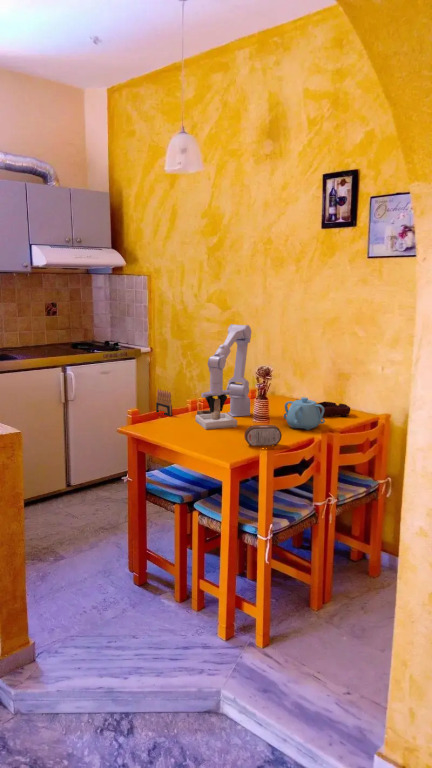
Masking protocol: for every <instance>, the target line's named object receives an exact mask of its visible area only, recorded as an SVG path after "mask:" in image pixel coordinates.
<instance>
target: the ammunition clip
mask: <svg viewBox="0 0 432 768" xmlns="http://www.w3.org/2000/svg"><path fill="white" fill-rule="evenodd" d="M171 396H172V394H171V391H168V390H162V389H159V388H158V389H157V393H156V403H155V412H159V411H164V412H165V413H164V416H167V417H172V416H173V405H172V397H171Z"/></svg>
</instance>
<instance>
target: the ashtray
mask: <svg viewBox="0 0 432 768" xmlns="http://www.w3.org/2000/svg"><path fill="white" fill-rule="evenodd" d="M317 404H319V405H322V406H323V407H324V414H323V416H322V418H324V417H341V418H345V417H347V416H348V415H349V414H350V413H351V406H349V405H347V404H345V403H339V404H338V405H337V403H336V402H331V401H321V402H318V403H317ZM319 410H320V414H321V413H322V409H321V408H320V407H319Z"/></svg>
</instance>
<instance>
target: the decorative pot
mask: <svg viewBox="0 0 432 768" xmlns="http://www.w3.org/2000/svg"><path fill="white" fill-rule="evenodd" d="M289 404H291V405H290V406H289V409H288V405H289ZM319 407H320V408H321V409H322V413H321V414H320V410H319ZM284 411H285V413H284V414H283V419H285V420H286V423H287V425H288V426H289V427H291V429H303V430H305V431H311V430H312V429H315V428H317V427H318V426H319V425H320V424H321V425H322V424H325V422H326V419H325V418H324V417H322V416H323V414H324V407H323V406H322V405H319V404H318V403H317V402H316V401H315V400H311V399H309V397H305V396H303V397H300V399H296V400H294V401H291V400H289V401H286V402H285V403H284Z"/></svg>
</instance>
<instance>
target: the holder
mask: <svg viewBox="0 0 432 768" xmlns="http://www.w3.org/2000/svg"><path fill="white" fill-rule="evenodd" d="M204 414H211V412H210V409H207V410H197V411H196V415H204Z"/></svg>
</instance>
